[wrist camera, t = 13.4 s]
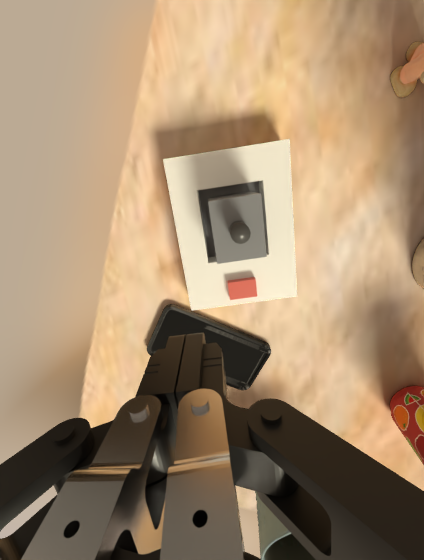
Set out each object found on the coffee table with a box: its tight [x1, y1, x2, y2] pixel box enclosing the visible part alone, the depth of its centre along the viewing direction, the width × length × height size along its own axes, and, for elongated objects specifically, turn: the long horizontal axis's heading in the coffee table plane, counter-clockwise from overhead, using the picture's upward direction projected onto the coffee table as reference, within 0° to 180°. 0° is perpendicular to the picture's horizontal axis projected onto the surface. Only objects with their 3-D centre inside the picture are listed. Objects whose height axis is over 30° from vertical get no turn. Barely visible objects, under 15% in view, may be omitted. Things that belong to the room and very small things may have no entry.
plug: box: [208, 192, 267, 264], centre depth 26 cm, size 4×6×9 cm
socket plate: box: [163, 139, 297, 311], centre depth 29 cm, size 12×16×4 cm
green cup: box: [255, 491, 316, 560], centre depth 37 cm, size 10×10×12 cm
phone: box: [147, 304, 271, 390], centre depth 36 cm, size 8×1×15 cm
